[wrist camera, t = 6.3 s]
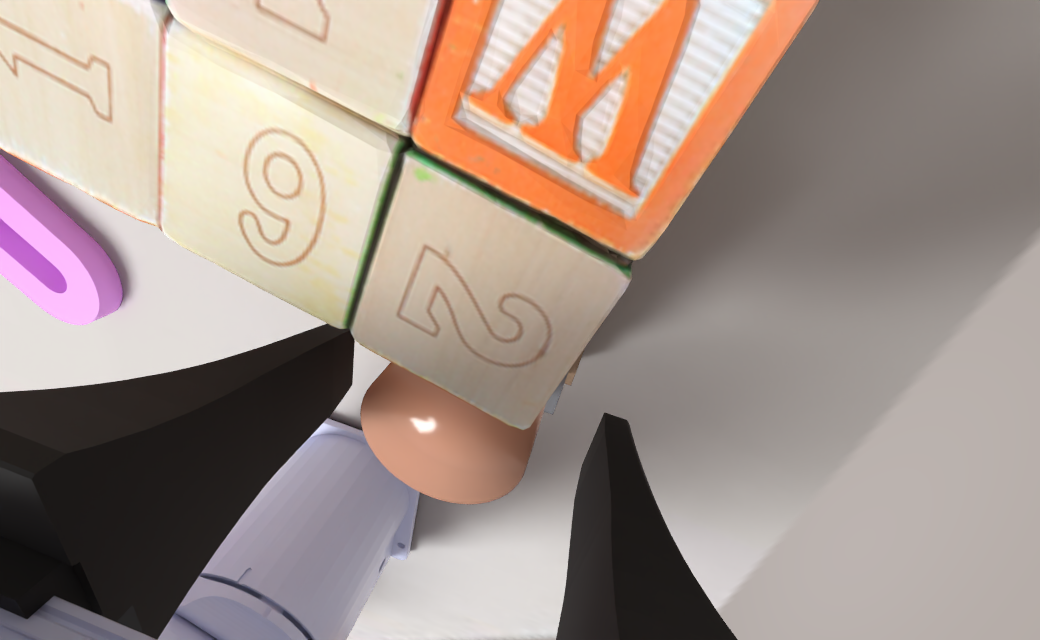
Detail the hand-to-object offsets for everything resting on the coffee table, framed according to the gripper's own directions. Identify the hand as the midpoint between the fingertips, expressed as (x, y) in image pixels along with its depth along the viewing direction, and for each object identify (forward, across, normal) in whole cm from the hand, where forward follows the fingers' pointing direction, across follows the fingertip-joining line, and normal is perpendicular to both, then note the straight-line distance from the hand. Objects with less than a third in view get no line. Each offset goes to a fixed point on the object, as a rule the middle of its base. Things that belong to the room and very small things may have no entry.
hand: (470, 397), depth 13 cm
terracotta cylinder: (+3, 0, 0) cm, 3 cm away
